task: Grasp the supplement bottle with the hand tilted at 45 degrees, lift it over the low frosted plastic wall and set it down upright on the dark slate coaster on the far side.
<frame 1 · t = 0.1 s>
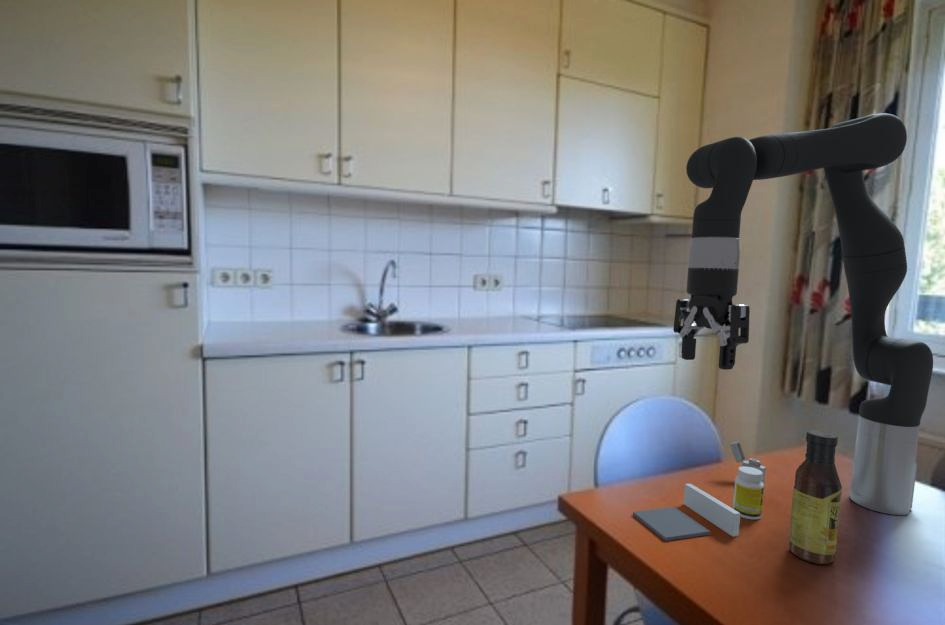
hand: (705, 364, 84), 29 cm above the table, tool pointing down, fingers open, 8 cm apart
wall: (709, 519, 91), on the table
coaster: (670, 524, 88), on the table
sauce bottle: (810, 556, 80), on the table
supplement bottle: (746, 515, 94), on the table
lighter: (745, 482, 108), on the table
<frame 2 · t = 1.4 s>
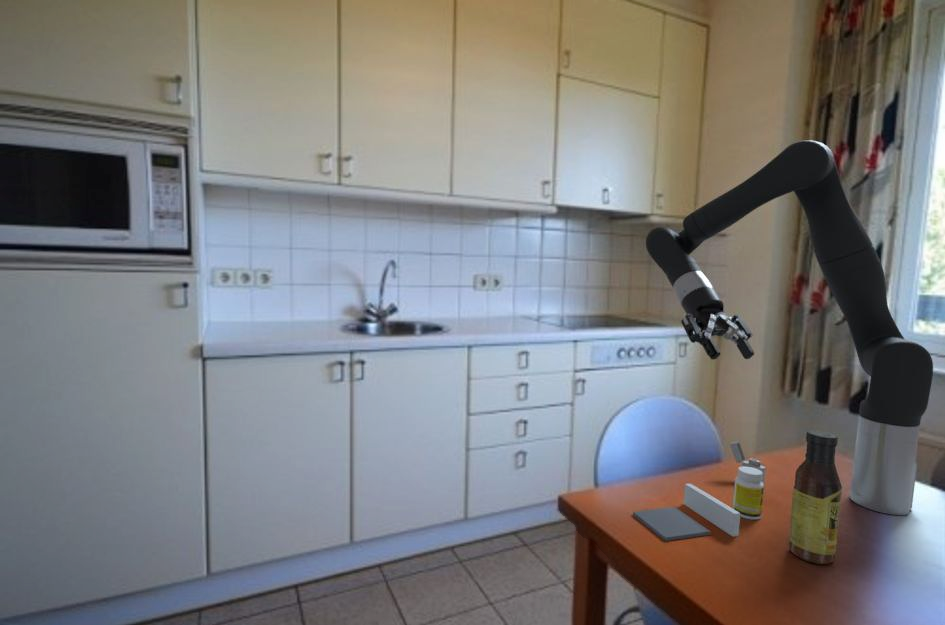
hand: (733, 357, 101), 28 cm above the table, tool tilted 45°, fingers open, 8 cm apart
nothing on the table moved.
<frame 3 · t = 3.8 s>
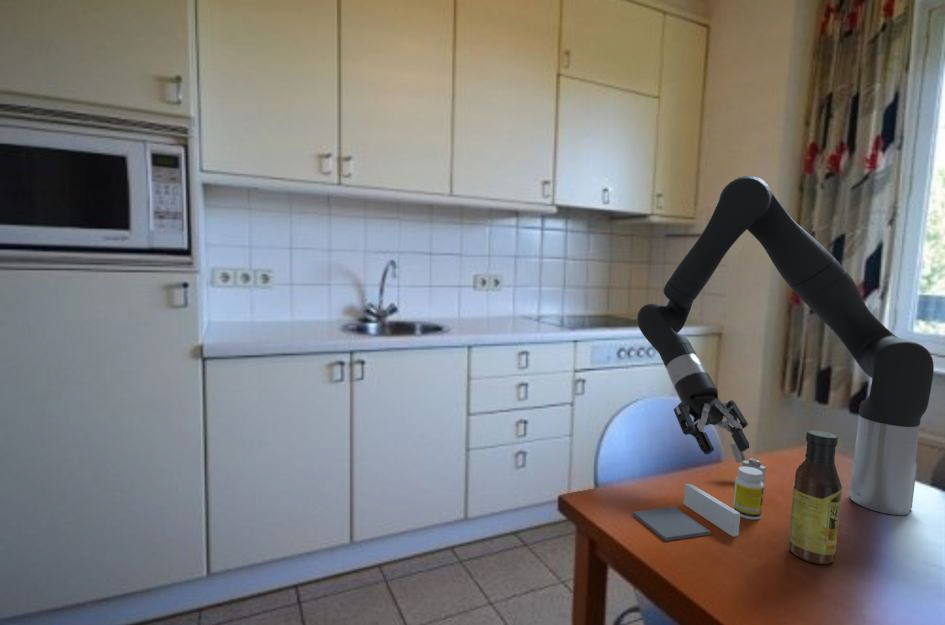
hand: (727, 451, 98), 10 cm above the table, tool tilted 45°, fingers open, 8 cm apart
nothing on the table moved.
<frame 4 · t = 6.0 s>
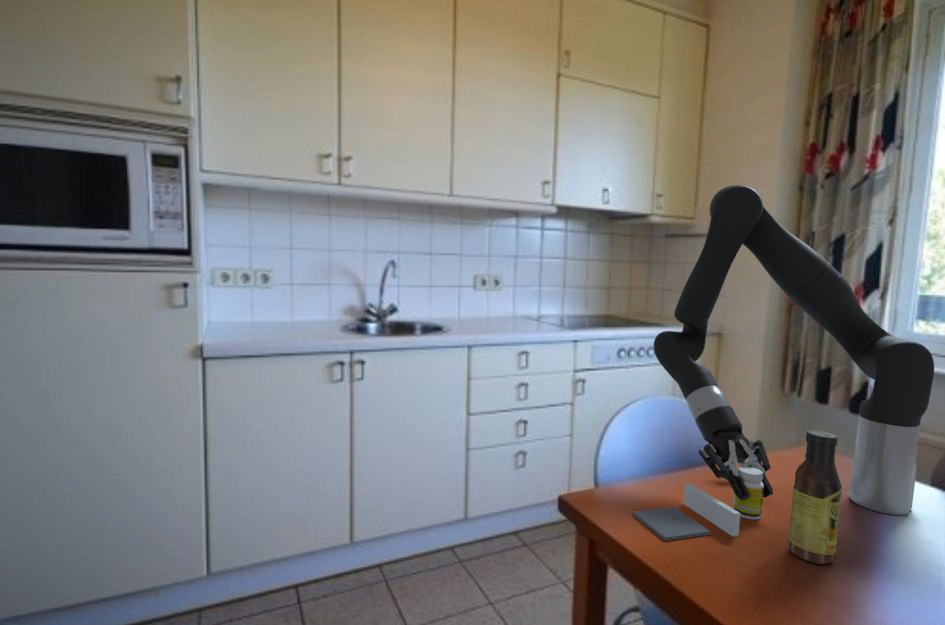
hand: (757, 496, 91), 4 cm above the table, tool tilted 45°, fingers closed on supplement bottle, 4 cm apart
supplement bottle: (746, 514, 94), on the table, touching gripper
everything else where it was.
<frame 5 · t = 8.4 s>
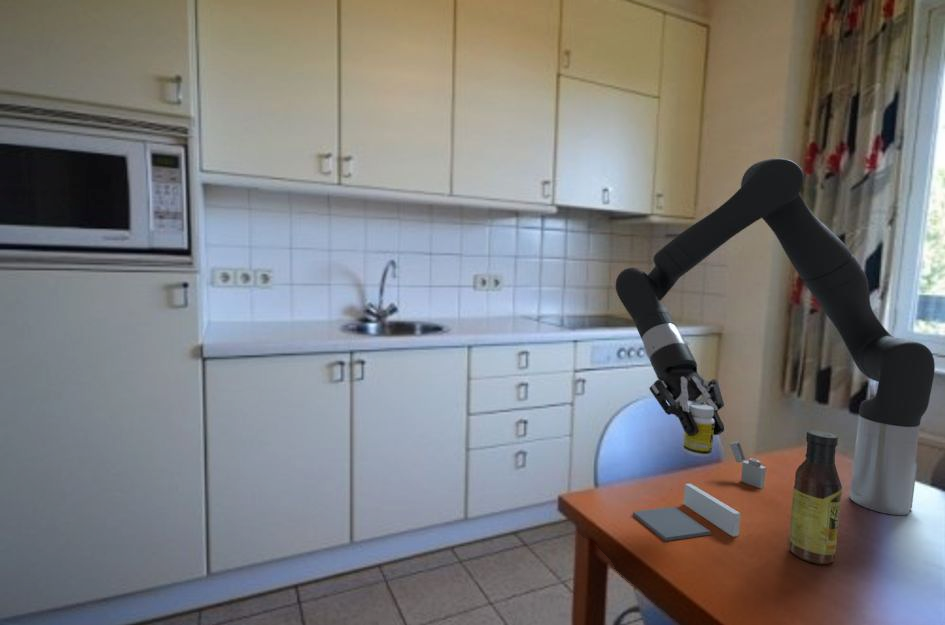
hand: (706, 433, 87), 17 cm above the table, tool tilted 45°, fingers closed on supplement bottle, 4 cm apart
supplement bottle: (696, 453, 90), point 12 cm above the table, touching gripper
everything else where it was.
when the fingers open (6 cm above the table, at t = 11.0 s): supplement bottle drops 2 cm, resting on coaster.
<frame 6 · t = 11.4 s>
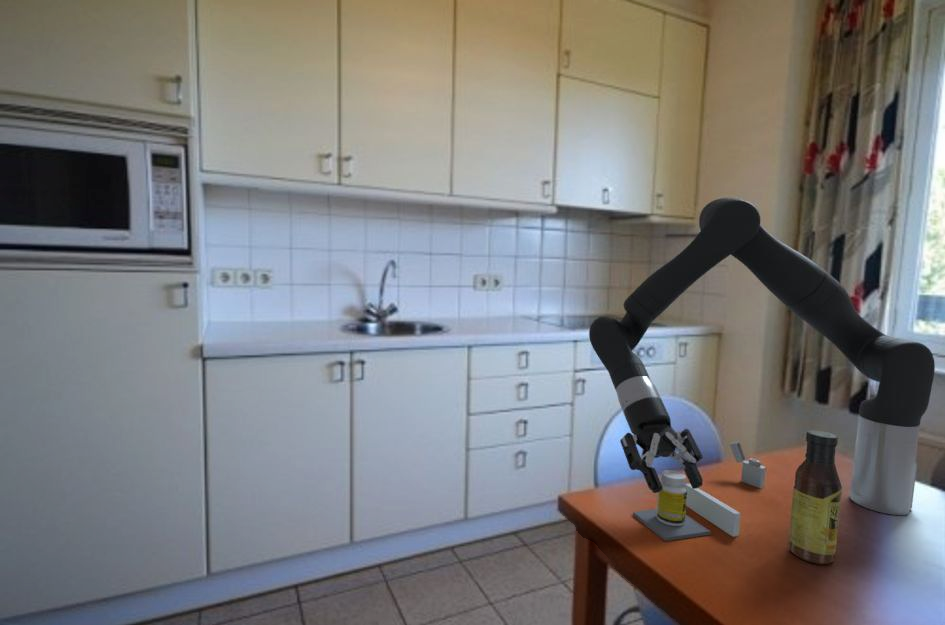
hand: (678, 489, 86), 7 cm above the table, tool tilted 45°, fingers open, 8 cm apart
supplement bottle: (670, 521, 89), resting on coaster
everything else where it was.
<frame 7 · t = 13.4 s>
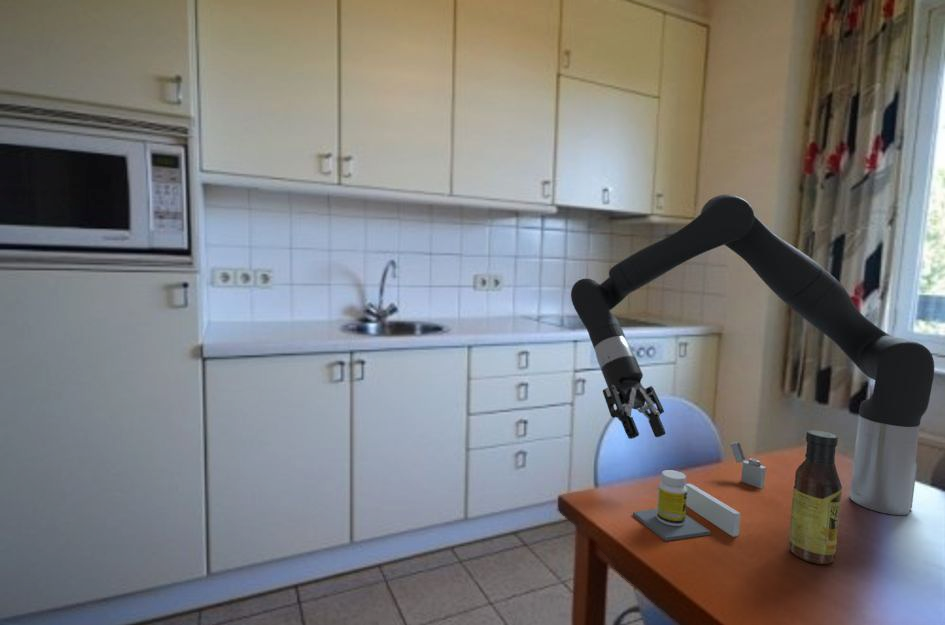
hand: (647, 436, 98), 12 cm above the table, tool tilted 35°, fingers open, 8 cm apart
nothing on the table moved.
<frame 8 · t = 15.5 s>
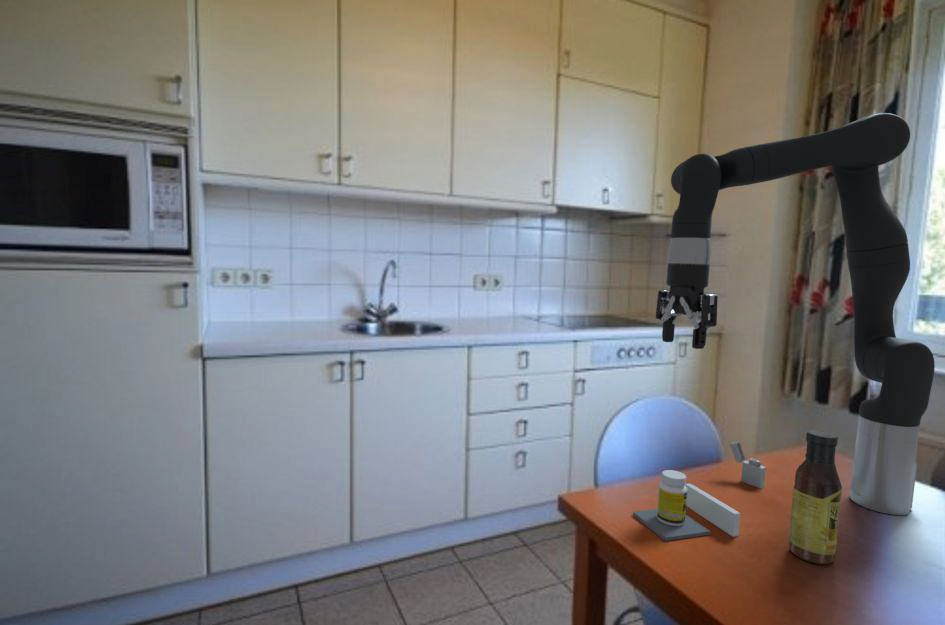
hand: (682, 345, 99), 30 cm above the table, tool pointing down, fingers open, 8 cm apart
nothing on the table moved.
at the end: supplement bottle inside the target area on the coaster (0.3 cm from its centre), point 0.4 cm above the coaster's base; supplement bottle tilted 0°; the gripper is holding nothing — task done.
